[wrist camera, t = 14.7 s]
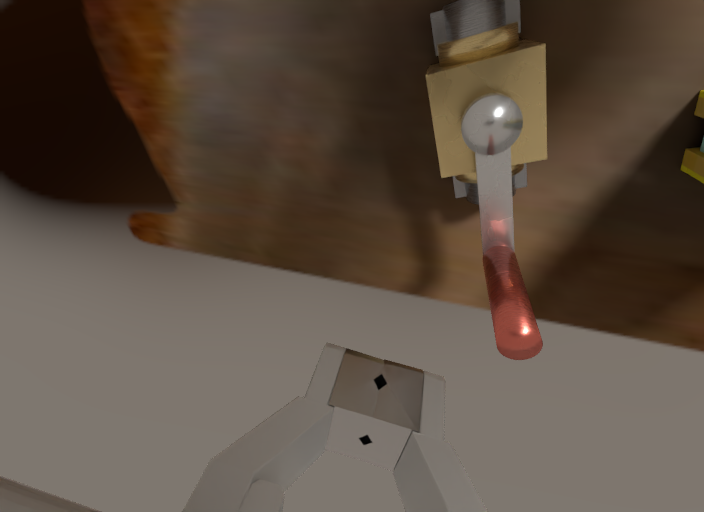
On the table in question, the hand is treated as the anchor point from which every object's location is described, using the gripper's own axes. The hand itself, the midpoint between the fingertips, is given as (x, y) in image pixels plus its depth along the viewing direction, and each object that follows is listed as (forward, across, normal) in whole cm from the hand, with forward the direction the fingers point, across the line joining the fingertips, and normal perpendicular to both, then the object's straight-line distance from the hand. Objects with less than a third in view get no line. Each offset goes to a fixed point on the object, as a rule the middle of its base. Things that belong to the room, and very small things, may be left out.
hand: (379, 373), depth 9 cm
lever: (+23, -6, +3) cm, 24 cm away
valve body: (+32, -4, -1) cm, 32 cm away
